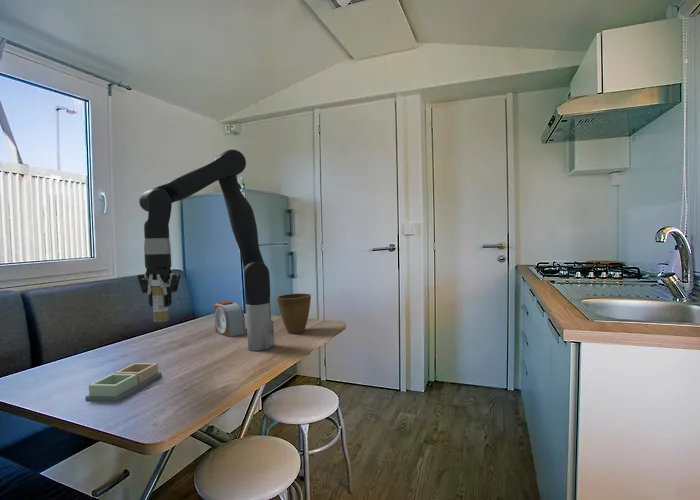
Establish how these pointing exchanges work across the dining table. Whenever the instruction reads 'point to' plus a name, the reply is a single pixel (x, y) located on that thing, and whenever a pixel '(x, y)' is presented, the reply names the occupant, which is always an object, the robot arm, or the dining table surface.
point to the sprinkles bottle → (159, 302)
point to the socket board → (123, 382)
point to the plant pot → (294, 311)
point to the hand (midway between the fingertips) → (160, 305)
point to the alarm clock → (229, 318)
